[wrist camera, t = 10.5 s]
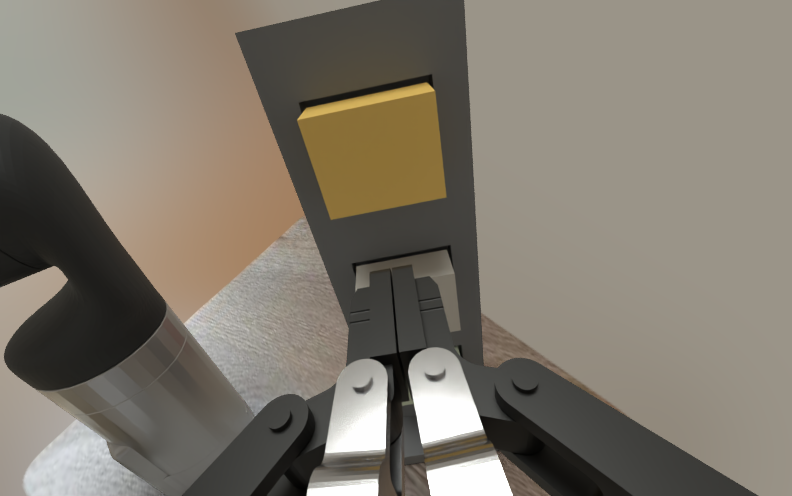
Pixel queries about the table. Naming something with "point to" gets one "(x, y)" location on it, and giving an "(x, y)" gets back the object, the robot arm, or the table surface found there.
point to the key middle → (423, 266)
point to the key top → (376, 150)
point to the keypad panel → (362, 75)
